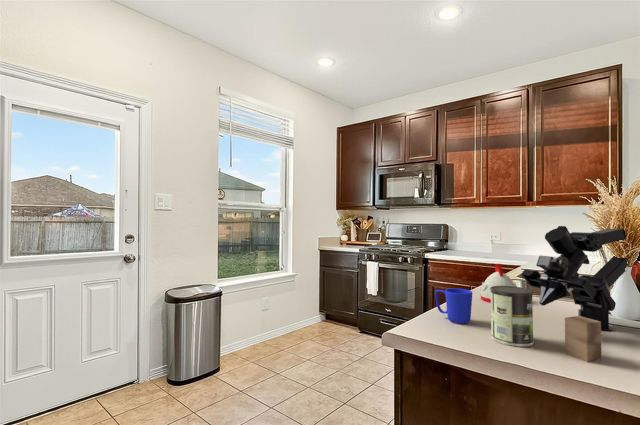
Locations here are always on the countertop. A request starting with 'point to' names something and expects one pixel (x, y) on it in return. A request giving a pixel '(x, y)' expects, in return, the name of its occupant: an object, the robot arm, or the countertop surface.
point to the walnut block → (583, 338)
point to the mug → (457, 304)
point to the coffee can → (512, 315)
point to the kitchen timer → (494, 283)
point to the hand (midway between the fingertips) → (541, 304)
